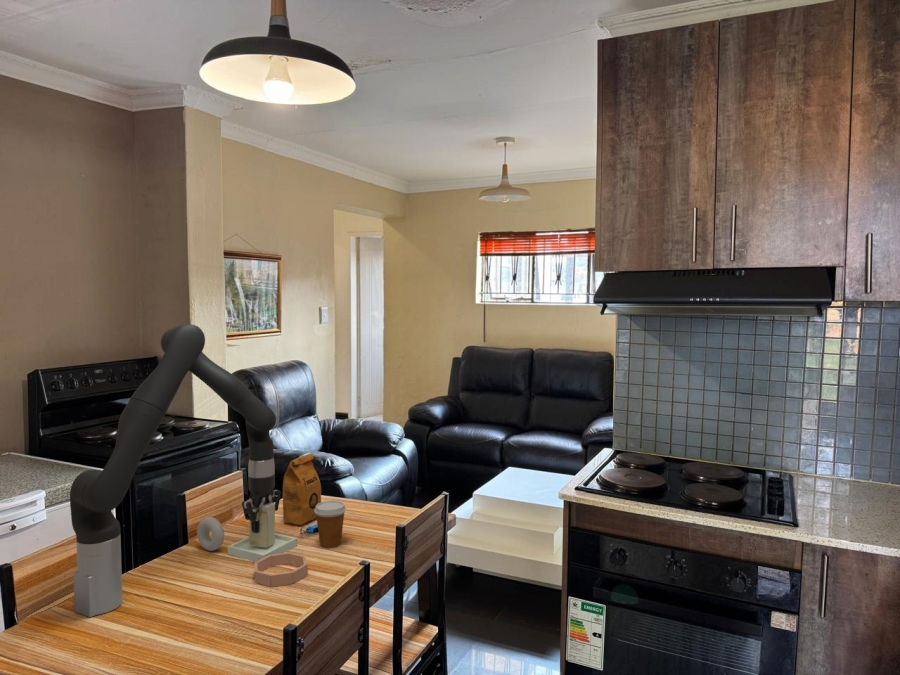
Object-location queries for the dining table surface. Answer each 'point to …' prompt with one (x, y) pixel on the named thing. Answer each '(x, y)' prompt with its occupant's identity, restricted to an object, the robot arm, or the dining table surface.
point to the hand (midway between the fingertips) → (262, 529)
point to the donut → (204, 534)
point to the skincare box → (264, 527)
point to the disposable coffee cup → (330, 522)
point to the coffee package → (300, 491)
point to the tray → (261, 548)
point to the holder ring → (280, 578)
